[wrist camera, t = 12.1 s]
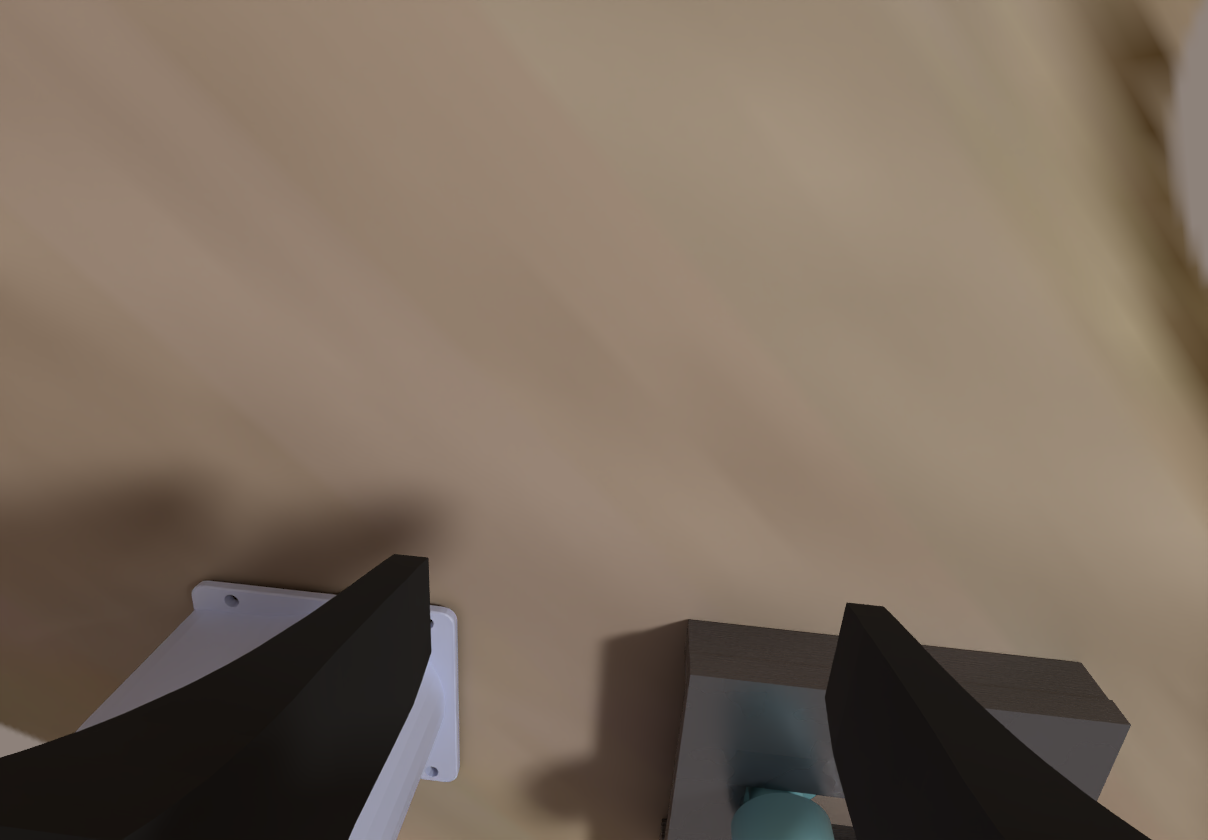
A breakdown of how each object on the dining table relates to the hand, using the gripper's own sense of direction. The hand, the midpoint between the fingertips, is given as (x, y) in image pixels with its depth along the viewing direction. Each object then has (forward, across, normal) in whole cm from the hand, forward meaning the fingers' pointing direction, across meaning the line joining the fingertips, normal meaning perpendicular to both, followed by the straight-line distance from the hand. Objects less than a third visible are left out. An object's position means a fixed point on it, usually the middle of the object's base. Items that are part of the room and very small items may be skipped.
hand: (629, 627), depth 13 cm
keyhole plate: (+10, -8, +13) cm, 19 cm away
